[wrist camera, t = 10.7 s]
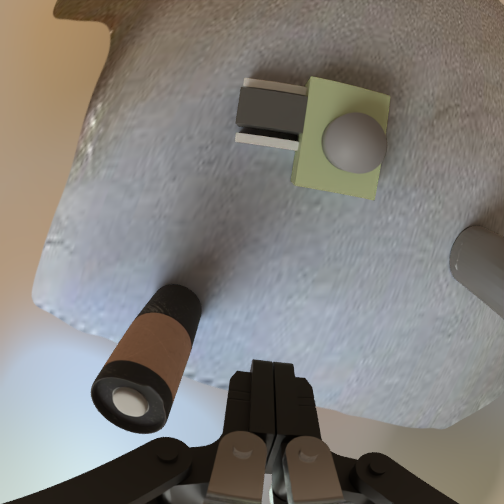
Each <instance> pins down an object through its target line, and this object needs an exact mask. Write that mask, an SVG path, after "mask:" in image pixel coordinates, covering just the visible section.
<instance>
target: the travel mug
mask: <svg viewBox="0 0 504 504" xmlns="http://www.w3.org/2000/svg"><path fill="white" fill-rule="evenodd" d="M200 317H201V305H200V302H199V300H198V298H197V296H196V295H195V294H194V293H193V292H192V291H191V290H189V289H188V288H186V287H184V286H181V285H174V284H172V285H166V286H164V287H162V288H160V289H159V290H158V291H157V292H156V293H155V294H154V295H153V297H152V298H151V299H150V300H149V302H148V303H147V304H146V305H145V307H144V308H143V309H142V311H141V312H140V313H139V314H138V316H137V317H136V318H135V320H134V321H133V322H132V324H131V325H130V327H129V328H128V330H127V331H126V333H125V334H124V336H123V337H122V339H121V340H120V342H119V343H118V345H117V347H116V348H115V349H114V351H113V353H112V354H111V356H110V357H109V359H108V360H107V362H106V363H105V365H104V367H103V368H102V370H101V371H100V373H99V375H98V376H97V378H96V379H95V381H94V383H93V385H92V388H91V397H92V401H93V403H94V405H95V407H96V408H97V409H98V411H99V412H100V413H101V414H102V415H103V416H104V417H105V418H106V419H107V420H108V421H110V422H111V423H113V424H114V425H116V426H118V427H120V428H122V429H124V430H127V431H130V432H133V433H139V434H149V433H154V432H157V431H159V430H160V429H162V428H163V427H164V425H165V424H166V422H167V419H168V416H169V413H170V410H171V407H172V404H173V401H174V398H175V395H176V393H177V390H178V387H179V384H180V381H181V378H182V375H183V372H184V370H185V367H186V364H187V361H188V358H189V355H190V352H191V349H192V345H193V342H194V338H195V335H196V331H197V328H198V324H199V321H200Z"/></svg>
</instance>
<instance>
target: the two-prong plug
mask: <svg viewBox="0 0 504 504" xmlns="http://www.w3.org/2000/svg"><path fill="white" fill-rule="evenodd" d="M243 87H247V88H255V89H262V90H269V91H276V92H283V93H289V94H295V95H300V96H306V97H308V101H307V107H306V114H305V121H304V128H303V133H302V134H299V135H298V137H297V141H291V140H285V139H278V138H272V137H265V136H258V135H251V134H243V133H236V138H235V142H240V143H248V144H255V145H262V146H269V147H276V148H282V149H288V150H294V151H295V156H294V163H293V169H292V175H291V182H292V183H293V184H294V185H295V186H301V187H306V188H312V189H318V190H324V191H329V192H334V193H340V194H345V195H350V196H355V197H360V198H365V199H370V200H375V195H376V189H377V184H378V179H379V173H380V167H381V162H382V161H383V159H384V157H385V155H386V151H387V139H386V128H387V121H388V113H389V105H390V96H388V95H385V94H382V93H378V92H375V91H371V90H368V89H364V88H360V87H356V86H352V85H348V84H344V83H340V82H336V81H331V80H327V79H322V78H317V77H312V76H311V77H310V79H309V80H308V82H307V83H306V85H305V87H303V86H297V85H292V84H286V83H279V82H273V81H266V80H258V79H250V78H244V84H243Z"/></svg>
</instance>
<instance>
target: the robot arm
mask: <svg viewBox="0 0 504 504" xmlns="http://www.w3.org/2000/svg"><path fill="white" fill-rule="evenodd" d="M450 270H451V273H452V275H453V277H454V278H455V279H456V280H457V281H458V282H459V283H461V284H462V285H463V286H464V287H466V288H467V289H468V290H469V291H470V292H472V293H473V294H474V295H475V296H477V297H478V298H479V299H480V300H481V301H483V302H484V303H485V304H486V305H487V306H489V307H490V308H491V309H492V310H493V311H495V312H496V313H497V314H498V315H499V316H500V317H502V318H503V319H504V237H503V236H501V235H499V234H497V233H495V232H493V231H490V230H488V229H486V228H484V227H481V226H472V227H469V228H467V229H466V230H464V231H463V232H462V233H461V234H460V235H459V236H458V238H457V239H456V241H455V243H454V245H453V247H452V250H451V254H450ZM315 406H316V405H315V400H314V394H313V389H312V386H311V385H310V384H309V382H308V381H307V380H306V378H299V377H295V374H294V366H293V364H291V363H281V362H273V363H272V362H271V361H262V360H254V359H253V360H252V364H251V370H250V372H243V371H236V373H235V374H234V375H233V376H232V377H231V379H230V383H229V391H228V398H227V405H226V412H225V420H224V427H223V433H222V435H221V436H220V438H219V439H218V440H217V441H215V442H214V443H212V444H210V445H207V446H201V447H191V448H189V447H188V446H187V445H186V444H185V443H183V442H182V441H180V440H178V439H175V438H171V437H161V438H156V439H154V440H151V441H150V442H148V443H146V444H144V445H142V446H140V447H138V448H136V449H134V450H132V451H130V452H128V453H126V454H124V455H122V456H120V457H118V458H116V459H114V460H112V461H110V462H108V463H105V464H104V465H101V466H99V467H97V468H95V469H93V470H90V471H88V472H86V473H83V474H81V475H79V476H76V477H74V478H72V479H69V480H67V481H64V482H62V483H60V484H57V485H54V486H52V487H49V488H47V489H44V490H41V491H39V492H36V493H33V494H31V495H28V496H25V497H22V498H19V499H16V500H13V501H10V502H6V503H3V504H261V502H262V493H263V484H264V483H263V482H264V474H265V473H266V474H272V484H271V486H270V489H269V497H270V504H459V503H457V502H456V501H454V500H452V499H451V498H449V497H447V496H446V495H444V494H443V493H441V492H439V491H438V490H437V489H435V488H433V487H432V486H430V485H429V484H427V483H426V482H424V481H423V480H421V479H420V478H418V477H416V476H415V475H414V474H412V473H411V472H409V471H408V470H407V469H405V468H404V467H402V466H401V465H399V464H398V463H396V462H395V461H394V460H392V459H391V458H389V457H388V456H386V455H384V454H381V453H377V452H376V453H375V452H372V453H367V454H364V455H362V456H361V457H360V458H359V459H358V460H356V459H352V458H348V457H343V456H340V455H337V454H335V453H333V452H331V451H330V449H329V447H328V446H327V444H326V443H324V442H323V441H322V439H321V434H320V428H319V422H318V417H317V411H316V408H315Z"/></svg>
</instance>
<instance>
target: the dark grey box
mask: <svg viewBox="0 0 504 504" xmlns="http://www.w3.org/2000/svg"><path fill="white" fill-rule="evenodd" d="M307 101H308V97H306V96H300V95H295V94H289V93H283V92H276V91H269V90H262V89H255V88H247V87H241V90H240V97H239V103H238V110H237V116H236V124H237V125H238V126H239V127H246V128H253V129H261V130H268V131H274V132H281V133H287V134H293V135H299V134H302V133H303V128H304V121H305V114H306V107H307Z"/></svg>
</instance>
